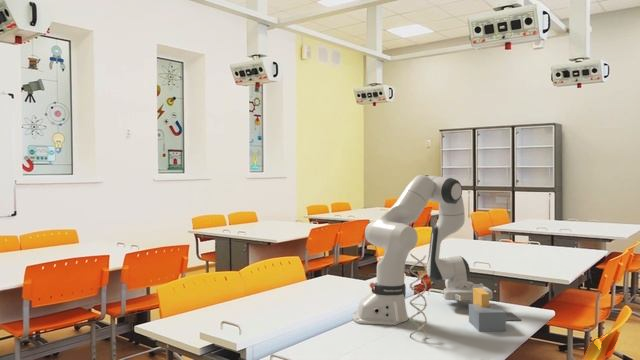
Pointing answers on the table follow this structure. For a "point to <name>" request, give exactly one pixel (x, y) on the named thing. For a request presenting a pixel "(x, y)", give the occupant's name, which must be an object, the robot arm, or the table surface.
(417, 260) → the dna model
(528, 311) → the table surface
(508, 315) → the mat
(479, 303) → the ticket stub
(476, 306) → the box
